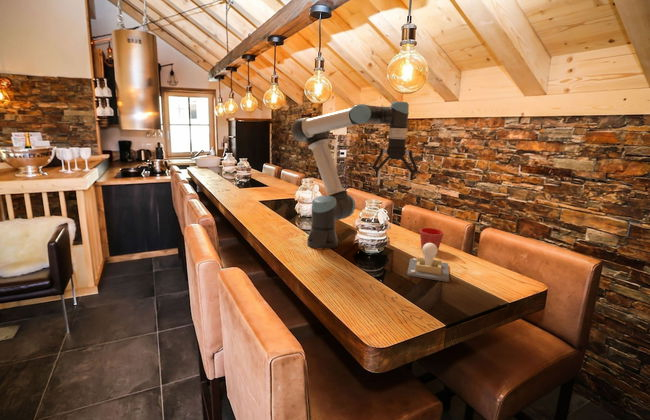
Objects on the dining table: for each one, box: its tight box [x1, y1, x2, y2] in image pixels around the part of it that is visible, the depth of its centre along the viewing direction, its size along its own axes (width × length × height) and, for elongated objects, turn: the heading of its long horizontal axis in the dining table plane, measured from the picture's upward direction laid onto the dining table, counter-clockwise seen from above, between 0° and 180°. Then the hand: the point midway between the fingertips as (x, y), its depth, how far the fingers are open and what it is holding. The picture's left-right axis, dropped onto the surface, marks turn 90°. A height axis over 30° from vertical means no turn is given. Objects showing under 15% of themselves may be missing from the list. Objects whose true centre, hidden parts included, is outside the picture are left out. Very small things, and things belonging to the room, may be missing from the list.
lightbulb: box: [421, 243, 439, 266], centre depth 148 cm, size 6×6×11 cm
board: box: [406, 256, 450, 283], centre depth 149 cm, size 16×18×4 cm
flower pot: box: [419, 227, 444, 250], centre depth 173 cm, size 11×11×10 cm
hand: (393, 186), depth 162 cm, fingers open, 13 cm apart
